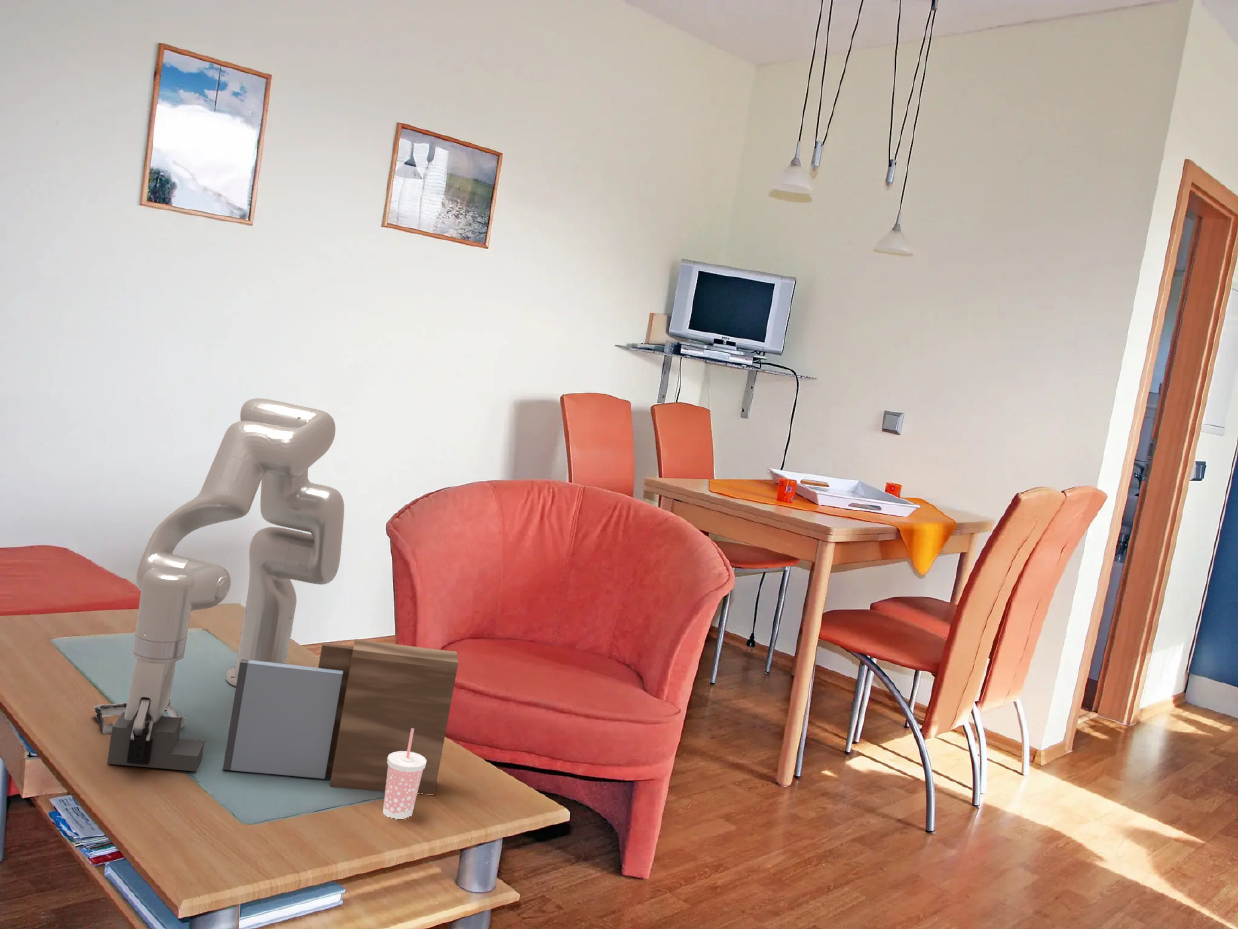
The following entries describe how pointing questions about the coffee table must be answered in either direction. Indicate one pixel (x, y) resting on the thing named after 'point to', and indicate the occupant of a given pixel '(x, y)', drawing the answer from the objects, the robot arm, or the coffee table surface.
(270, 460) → the robot arm
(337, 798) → the coffee table surface
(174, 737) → the grey stepped block
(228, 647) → the coffee table surface
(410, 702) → the door wall
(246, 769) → the sliding door
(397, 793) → the beverage cup
